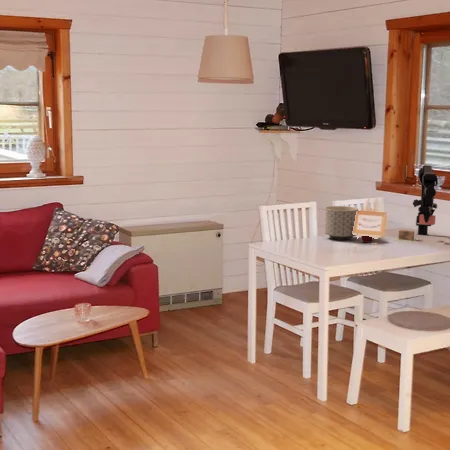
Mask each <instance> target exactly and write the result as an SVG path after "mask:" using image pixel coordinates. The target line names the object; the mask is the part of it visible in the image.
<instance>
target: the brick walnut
mask: <svg viewBox="0 0 450 450" xmlns="http://www.w3.org/2000/svg"><path fill="white" fill-rule="evenodd" d="M398 237H399V238H398ZM398 237H397V238H398V239H400V240H409V241H412V240H414V239H415V231H413V230H406V229H405V230H404V229H399V230H398Z"/></svg>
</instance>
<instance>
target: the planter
mask: <svg viewBox="0 0 450 450" xmlns="http://www.w3.org/2000/svg"><path fill="white" fill-rule="evenodd" d="M356 211H358V212H359V208H358V207H354V206H345V205H336V206H335V205H334V206H333V205H332V206H327V207H325V218H324V219H325V220H324V222H325V223H324V234H325V235H327V236H329V237H330V238H331V239H333V240H337V241H338V240H339V241H346V240H350V239H352V238H353V237H355V236H357V235H353V234H352V231H353V226H354V221H355V215H356Z"/></svg>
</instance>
